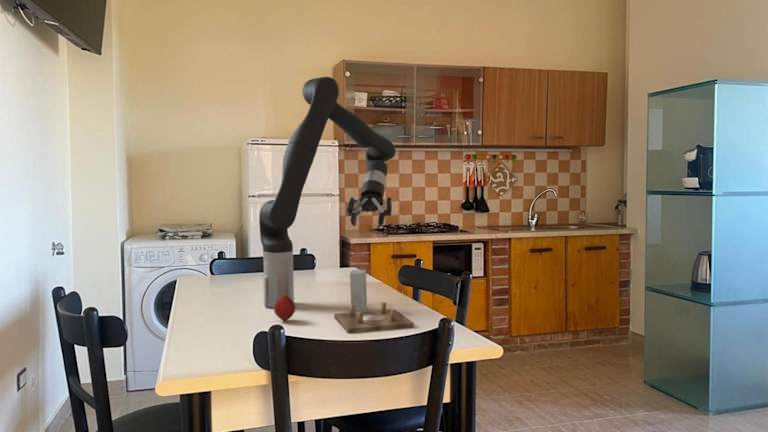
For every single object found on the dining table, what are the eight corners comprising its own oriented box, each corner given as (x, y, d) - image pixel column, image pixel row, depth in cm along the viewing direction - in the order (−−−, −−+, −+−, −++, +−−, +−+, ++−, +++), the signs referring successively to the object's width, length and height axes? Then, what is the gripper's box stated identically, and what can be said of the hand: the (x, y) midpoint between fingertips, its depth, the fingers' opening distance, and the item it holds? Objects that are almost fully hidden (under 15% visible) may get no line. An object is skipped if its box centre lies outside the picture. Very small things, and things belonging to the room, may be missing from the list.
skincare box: (353, 308, 190) (352, 269, 189) (367, 308, 190) (366, 269, 189) (350, 312, 184) (349, 272, 183) (364, 312, 184) (364, 272, 183)
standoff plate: (348, 333, 161) (347, 317, 160) (334, 317, 178) (333, 303, 178) (413, 327, 166) (413, 311, 165) (394, 313, 183) (394, 299, 183)
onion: (276, 318, 178) (276, 291, 177) (296, 318, 178) (296, 291, 177) (272, 323, 172) (271, 295, 172) (293, 323, 172) (292, 295, 171)
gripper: (350, 179, 206) (342, 216, 195) (393, 178, 203) (386, 216, 192) (355, 194, 211) (347, 231, 201) (396, 194, 208) (390, 231, 198)
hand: (366, 224), depth 197 cm, fingers open, 8 cm apart
